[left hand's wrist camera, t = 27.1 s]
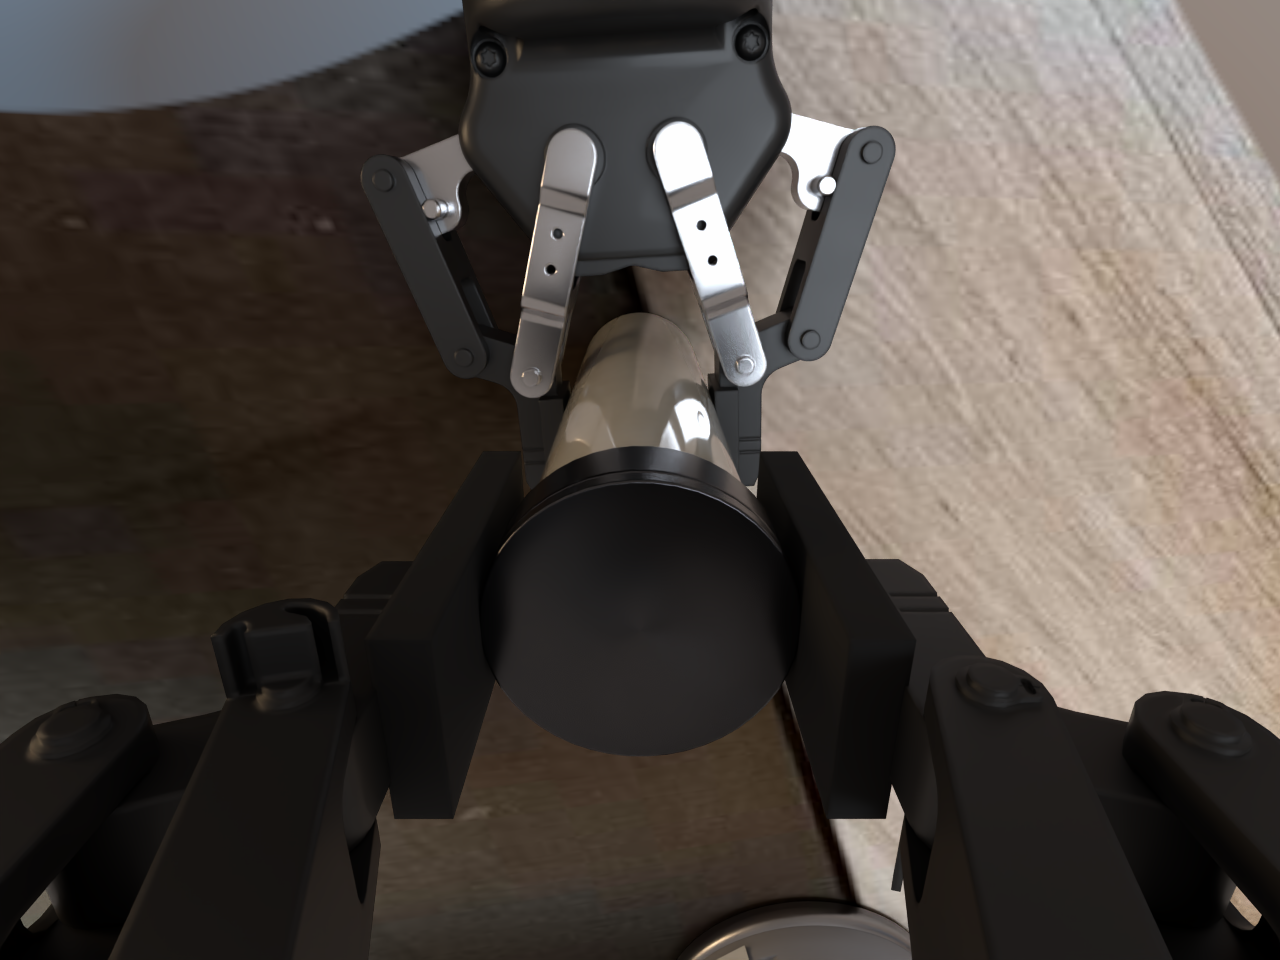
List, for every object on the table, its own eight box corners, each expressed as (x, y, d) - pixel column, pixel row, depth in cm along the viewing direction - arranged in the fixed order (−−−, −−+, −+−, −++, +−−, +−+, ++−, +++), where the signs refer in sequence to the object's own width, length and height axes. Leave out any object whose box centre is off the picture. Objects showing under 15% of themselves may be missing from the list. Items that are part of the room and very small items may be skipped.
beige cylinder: (709, 405, 27) (801, 674, 12) (604, 437, 28) (558, 735, 12) (678, 297, 26) (738, 440, 10) (568, 332, 26) (463, 520, 11)
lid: (515, 699, 13) (499, 763, 11) (479, 451, 11) (455, 488, 10) (779, 689, 13) (797, 751, 11) (786, 436, 11) (808, 471, 10)
